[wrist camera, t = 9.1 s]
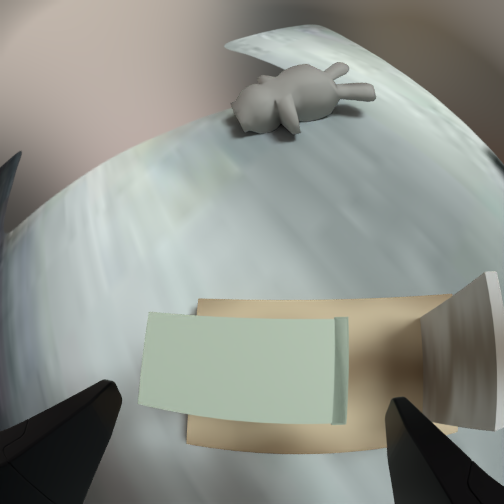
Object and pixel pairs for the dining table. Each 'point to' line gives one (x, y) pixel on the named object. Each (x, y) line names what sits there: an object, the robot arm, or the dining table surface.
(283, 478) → the dining table surface
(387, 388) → the tan board with upright
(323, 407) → the sage book
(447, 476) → the robot arm
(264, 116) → the bunny figurine
